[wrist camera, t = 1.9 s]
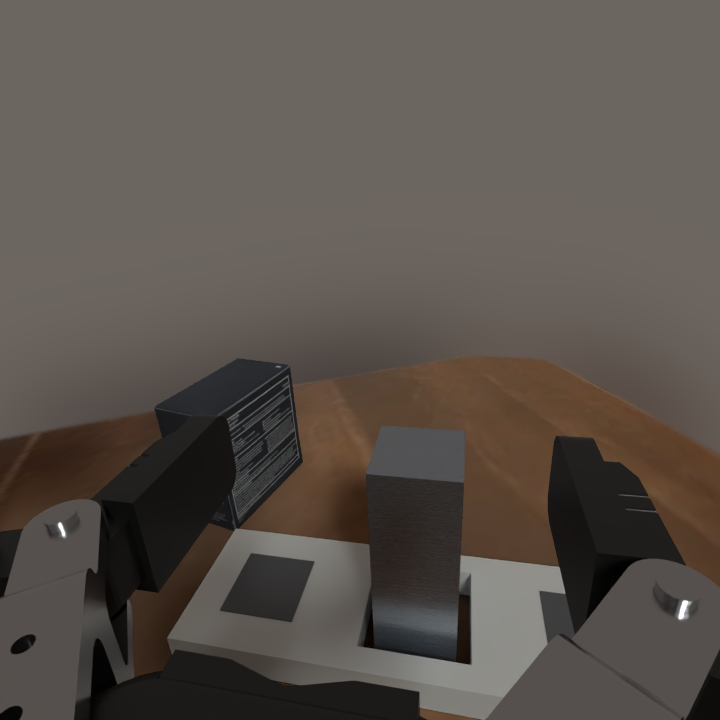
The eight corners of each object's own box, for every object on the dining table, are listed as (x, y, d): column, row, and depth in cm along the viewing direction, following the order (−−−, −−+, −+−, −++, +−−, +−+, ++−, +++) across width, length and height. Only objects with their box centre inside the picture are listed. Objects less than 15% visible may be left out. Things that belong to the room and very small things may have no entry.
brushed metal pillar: (374, 659, 28) (365, 473, 23) (387, 594, 32) (381, 425, 27) (455, 673, 27) (464, 482, 22) (457, 604, 31) (464, 431, 26)
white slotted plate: (173, 661, 28) (166, 636, 27) (239, 549, 36) (235, 527, 36) (707, 761, 22) (718, 734, 22) (644, 601, 31) (650, 576, 30)
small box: (251, 448, 49) (237, 354, 45) (305, 461, 47) (294, 363, 43) (175, 512, 41) (149, 403, 37) (236, 533, 38) (215, 418, 34)
